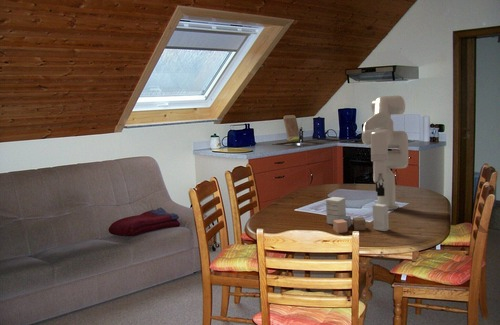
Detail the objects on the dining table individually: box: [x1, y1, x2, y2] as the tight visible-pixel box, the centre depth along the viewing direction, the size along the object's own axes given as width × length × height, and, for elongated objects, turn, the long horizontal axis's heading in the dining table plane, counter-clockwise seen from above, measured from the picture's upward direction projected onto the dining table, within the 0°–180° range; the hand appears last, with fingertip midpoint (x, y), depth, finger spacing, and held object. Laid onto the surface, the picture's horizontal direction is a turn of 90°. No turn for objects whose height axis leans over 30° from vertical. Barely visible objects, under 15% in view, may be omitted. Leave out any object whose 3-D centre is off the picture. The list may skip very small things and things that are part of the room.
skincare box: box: [372, 203, 390, 232], centre depth 234 cm, size 6×4×12 cm
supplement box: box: [325, 196, 347, 225], centre depth 250 cm, size 7×7×13 cm
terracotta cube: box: [332, 219, 348, 234], centre depth 236 cm, size 5×5×5 cm
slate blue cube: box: [338, 215, 352, 230], centre depth 243 cm, size 5×5×5 cm
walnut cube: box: [352, 216, 367, 231], centre depth 238 cm, size 5×5×5 cm
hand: (380, 193), depth 232 cm, fingers open, 9 cm apart
